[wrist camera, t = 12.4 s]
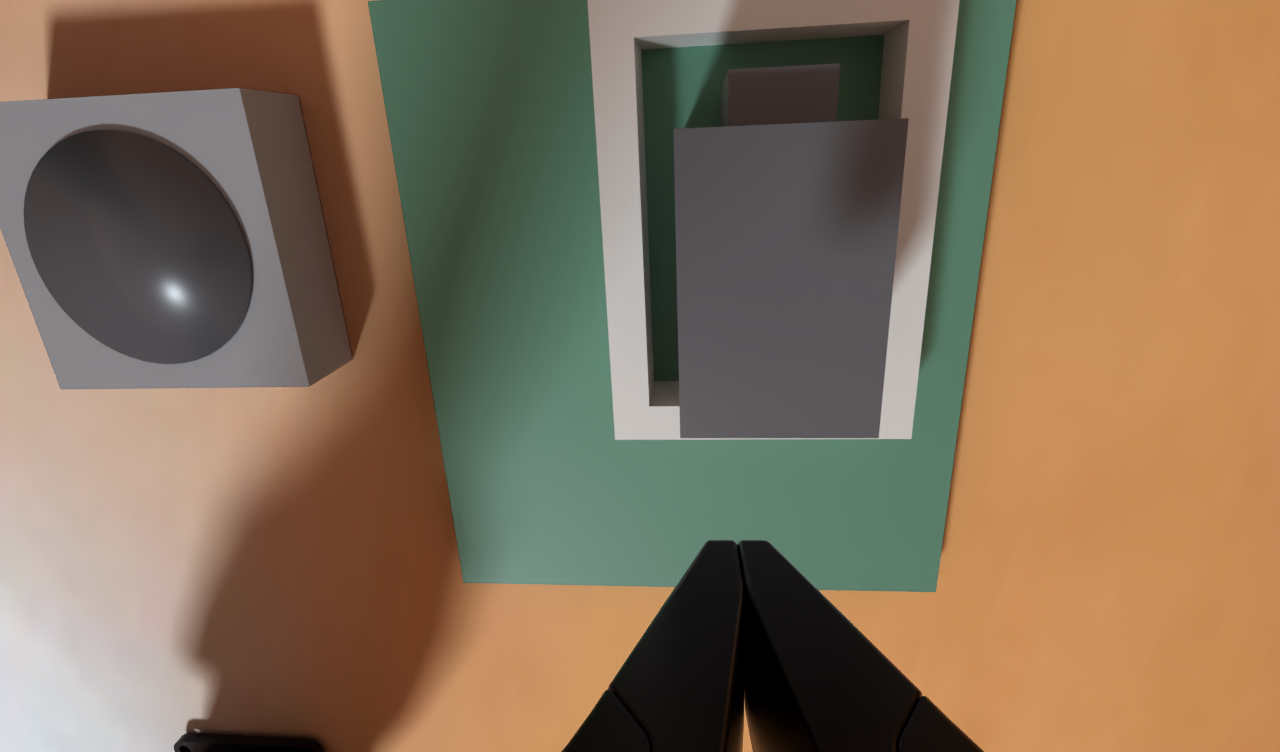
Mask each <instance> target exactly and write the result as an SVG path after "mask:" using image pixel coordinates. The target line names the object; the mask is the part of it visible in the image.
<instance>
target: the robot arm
mask: <svg viewBox="0 0 1280 752" xmlns="http://www.w3.org/2000/svg"><path fill="white" fill-rule="evenodd" d="M744 701H745V710H746V716H747V722H748V728H749V734H750V739H751V744H752V749H753V752H984V751H983V750H982V749H981V748H980V747H979V746H978V745H976V744H975V743H974V742H973V741H972V740H971V739H970V738H969V737H968V736H967V735H966V734H965V733H964V732H963V731H962V730H960V729H959V728H958V727H957V726H956V725H955V724H954V723H953V722H952V721H951V720H950V719H949V718H948V717H947V716H946V715H945V714H944V713H943V712H942V711H941V710H940V709H939V708H938V707H937V706H935V705H934V704H933V703H932V702H931V701H930V700H929V699H928V698H927V697H926V696H922V693H921V691H920V690H919V689H918V688H917V687H916V686H915V685H914V684H913V683H912V682H911V681H910V680H909V679H908V678H907V677H906V676H905V675H904V674H903V673H902V672H901V671H900V670H899V669H898V668H897V667H896V666H895V665H893V664H892V663H891V662H890V661H889V660H888V659H887V658H886V657H885V656H884V655H883V654H882V653H881V652H880V651H879V650H878V649H877V648H876V647H875V646H874V645H873V644H872V643H871V642H870V641H869V640H868V639H867V638H866V637H865V636H864V635H863V634H862V633H861V632H860V631H859V630H858V629H857V628H856V627H855V626H854V625H853V624H852V623H851V622H850V621H849V620H848V619H847V618H846V617H845V616H844V615H843V614H842V613H841V612H840V611H839V610H838V609H837V608H836V607H835V606H834V605H833V604H832V603H831V602H830V601H829V600H828V599H827V598H825V597H824V596H823V595H822V594H821V593H820V592H819V591H818V590H817V589H816V588H815V587H814V586H813V585H812V584H811V583H810V582H809V581H808V580H807V579H806V578H805V577H804V576H803V575H802V574H801V573H800V572H799V571H798V570H797V569H796V568H795V567H794V566H793V565H792V564H791V563H790V562H789V561H788V560H787V559H786V558H785V557H784V556H783V555H782V554H781V553H780V552H779V551H778V550H777V549H776V548H775V547H774V546H773V545H772V544H771V543H770V542H768V541H766V540H741V541H739V542H738V544H736V542H735V541H733V540H708V541H707V542H706V543H705V544H704V545H703V547H702V548H701V550H700V551H699V553H698V554H697V556H696V557H695V559H694V560H693V562H692V563H691V565H690V566H689V568H688V569H687V571H686V572H685V574H684V575H683V577H682V578H681V580H680V581H679V583H678V584H677V586H676V587H675V589H674V590H673V592H672V593H671V594H670V596H669V597H668V599H667V600H666V602H665V603H664V605H663V606H662V608H661V609H660V611H659V612H658V614H657V615H656V617H655V618H654V620H653V621H652V623H651V624H650V626H649V627H648V629H647V630H646V632H645V633H644V635H643V636H642V638H641V639H640V641H639V642H638V644H637V645H636V647H635V648H634V649H633V651H632V652H631V654H630V655H629V657H628V658H627V660H626V661H625V663H624V664H623V666H622V667H621V669H620V670H619V672H618V673H617V675H616V676H615V678H614V679H613V681H612V682H611V684H610V685H609V689H608V690H606V691H605V692H604V694H603V695H602V697H601V698H600V700H599V701H598V703H597V704H596V706H595V707H594V709H593V710H592V712H591V713H590V714H589V716H588V717H587V718H586V720H585V721H584V723H583V724H582V725H581V727H580V728H579V729H578V731H577V732H576V734H575V735H574V736H573V738H572V739H571V740H570V742H569V743H568V745H567V746H566V747H565V748H564V749H563V751H562V752H742V748H743V729H744ZM174 750H175V752H324V749H323V747H322V745H321V744H320V743H319V742H318V741H316V740H313V739H302V738H280V737H258V736H235V735H213V734H191V733H188V734H184V735H182V736H181V738H180V739H179V740H178V741H177V742H176V743H175V745H174Z"/></svg>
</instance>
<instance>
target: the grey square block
mask: <svg viewBox="0 0 1280 752" xmlns="http://www.w3.org/2000/svg"><path fill="white" fill-rule="evenodd" d="M0 229H1V231H2V234H3V237H4V239H5V242H6V245H7V247H8V250H9V253H10V255H11V258H12V261H13V263H14V266H15V269H16V271H17V274H18V277H19V279H20V282H21V285H22V287H23V290H24V293H25V295H26V298H27V301H28V303H29V306H30V309H31V311H32V314H33V317H34V319H35V322H36V325H37V327H38V330H39V333H40V335H41V338H42V341H43V343H44V346H45V349H46V351H47V354H48V357H49V359H50V362H51V365H52V367H53V370H54V373H55V375H56V378H57V381H58V383H59V386H60V389H138V388H230V387H309V386H311V385H313V384H314V383H316V382H317V381H319V380H321V379H322V378H324V377H325V376H327V375H329V374H330V373H332V372H333V371H335V370H337V369H338V368H340V367H342V366H343V365H345V364H346V363H348V362H350V361H351V360H353V359H352V354H351V350H350V345H349V340H348V335H347V330H346V325H345V320H344V316H343V311H342V306H341V301H340V296H339V291H338V286H337V282H336V277H335V272H334V267H333V262H332V257H331V253H330V248H329V243H328V238H327V233H326V228H325V223H324V219H323V214H322V209H321V204H320V199H319V194H318V190H317V185H316V180H315V175H314V170H313V165H312V160H311V156H310V151H309V146H308V141H307V136H306V131H305V127H304V122H303V117H302V112H301V107H300V102H299V97H298V95H293V94H285V93H277V92H269V91H261V90H253V89H244V88H229V89H212V90H195V91H178V92H161V93H144V94H127V95H110V96H93V97H76V98H59V99H42V100H25V101H8V102H0Z"/></svg>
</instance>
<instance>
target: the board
mask: <svg viewBox="0 0 1280 752" xmlns="http://www.w3.org/2000/svg"><path fill="white" fill-rule="evenodd" d="M368 6H369V12H370V18H371V24H372V30H373V36H374V42H375V48H376V54H377V60H378V66H379V72H380V78H381V84H382V90H383V97H384V103H385V109H386V115H387V121H388V127H389V133H390V139H391V145H392V151H393V157H394V163H395V169H396V175H397V181H398V187H399V194H400V200H401V206H402V212H403V218H404V224H405V230H406V236H407V242H408V248H409V254H410V260H411V266H412V272H413V278H414V284H415V291H416V297H417V303H418V309H419V315H420V321H421V327H422V333H423V339H424V345H425V351H426V357H427V363H428V369H429V375H430V381H431V388H432V394H433V400H434V406H435V412H436V418H437V424H438V430H439V436H440V442H441V448H442V454H443V460H444V466H445V472H446V479H447V485H448V491H449V497H450V503H451V509H452V515H453V521H454V527H455V533H456V539H457V545H458V551H459V557H460V563H461V569H462V576H463V582H464V583H501V584H552V585H603V586H654V587H676V586H677V584H678V583H679V581H680V580H681V578H682V577H683V575H684V574H685V572H686V571H687V569H688V568H689V566H690V565H691V563H692V562H693V560H694V559H695V557H696V556H697V554H698V553H699V551H700V550H701V548H702V547H703V545H704V544H705V543H706V542H707V541H708V540H733V541H735V542H736V544H738V542H739V541H741V540H766V541H768V542H770V543H771V544H772V545H773V546H774V547H775V548H776V549H777V550H778V551H779V552H780V553H781V554H782V555H783V556H784V557H785V558H786V559H787V560H788V561H789V562H790V563H791V564H792V565H793V566H794V567H795V568H796V569H797V570H798V571H799V572H800V573H801V574H802V575H803V576H804V577H805V578H806V579H807V580H808V581H809V582H810V583H811V584H812V585H813V586H814V587H815V588H816V589H817V590H858V591H909V592H936V586H937V579H938V572H939V564H940V557H941V550H942V542H943V535H944V528H945V520H946V513H947V506H948V498H949V491H950V484H951V476H952V469H953V462H954V454H955V447H956V440H957V432H958V425H959V418H960V410H961V403H962V396H963V388H964V381H965V374H966V366H967V359H968V352H969V344H970V337H971V330H972V322H973V315H974V308H975V300H976V293H977V286H978V278H979V271H980V264H981V256H982V249H983V242H984V234H985V227H986V220H987V212H988V205H989V198H990V190H991V183H992V176H993V168H994V161H995V154H996V146H997V139H998V132H999V124H1000V117H1001V110H1002V102H1003V95H1004V88H1005V80H1006V73H1007V66H1008V58H1009V51H1010V44H1011V36H1012V29H1013V22H1014V14H1015V7H1016V0H379V1H368ZM837 63H840V73H839V90H838V107H837V121H857V120H879V119H901V118H909V121H908V131H907V142H906V153H905V163H904V174H903V185H902V195H901V206H900V217H899V227H898V238H897V248H896V259H895V270H894V280H893V291H892V302H891V312H890V323H889V334H888V344H887V355H886V365H885V376H884V387H883V397H882V408H881V419H880V429H879V438H680V406H679V360H678V314H677V268H676V222H675V176H674V130H673V129H683V128H705V127H720V90H721V87H722V85H723V82H724V80H725V77H726V75H727V72H728V70H729V69H745V68H764V67H782V66H801V65H819V64H837Z"/></svg>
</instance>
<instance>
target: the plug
mask: <svg viewBox="0 0 1280 752" xmlns="http://www.w3.org/2000/svg"><path fill="white" fill-rule="evenodd" d="M839 73H840V63H837V64H819V65H801V66H782V67H764V68H745V69H729V70H728V72H727V75H726V77H725V80H724V82H723V85H722V87H721V90H720V127H705V128H683V129H673V130H674V176H675V222H676V268H677V314H678V360H679V406H680V438H879V429H880V419H881V408H882V397H883V387H884V376H885V365H886V355H887V344H888V334H889V323H890V312H891V302H892V291H893V280H894V270H895V259H896V248H897V238H898V227H899V217H900V206H901V195H902V185H903V174H904V163H905V153H906V142H907V131H908V121H909V118H901V119H879V120H857V121H837V107H838V90H839Z"/></svg>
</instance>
